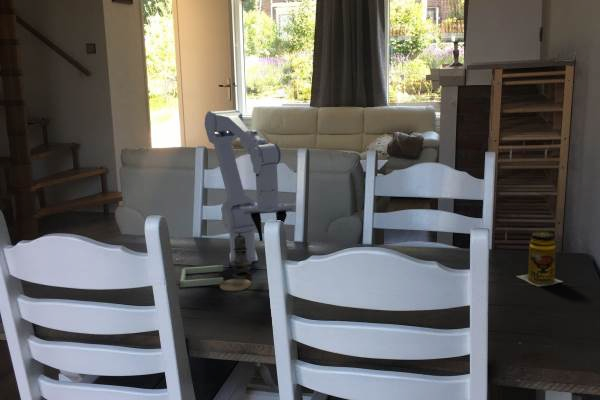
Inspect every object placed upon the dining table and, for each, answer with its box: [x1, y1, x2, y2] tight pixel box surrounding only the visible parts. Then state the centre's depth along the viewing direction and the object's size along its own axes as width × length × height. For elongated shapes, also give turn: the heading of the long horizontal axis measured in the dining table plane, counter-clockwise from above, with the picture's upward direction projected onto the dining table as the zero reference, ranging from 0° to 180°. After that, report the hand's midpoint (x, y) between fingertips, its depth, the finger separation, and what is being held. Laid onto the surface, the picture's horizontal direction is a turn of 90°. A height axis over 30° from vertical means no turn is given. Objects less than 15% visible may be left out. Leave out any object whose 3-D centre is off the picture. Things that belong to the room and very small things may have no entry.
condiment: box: [516, 231, 564, 287], centre depth 150 cm, size 7×8×12 cm
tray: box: [179, 264, 224, 288], centre depth 162 cm, size 12×11×2 cm
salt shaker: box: [229, 232, 253, 279], centre depth 162 cm, size 6×6×12 cm
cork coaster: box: [219, 278, 252, 292], centre depth 155 cm, size 8×8×1 cm
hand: (269, 239), depth 163 cm, fingers open, 4 cm apart
